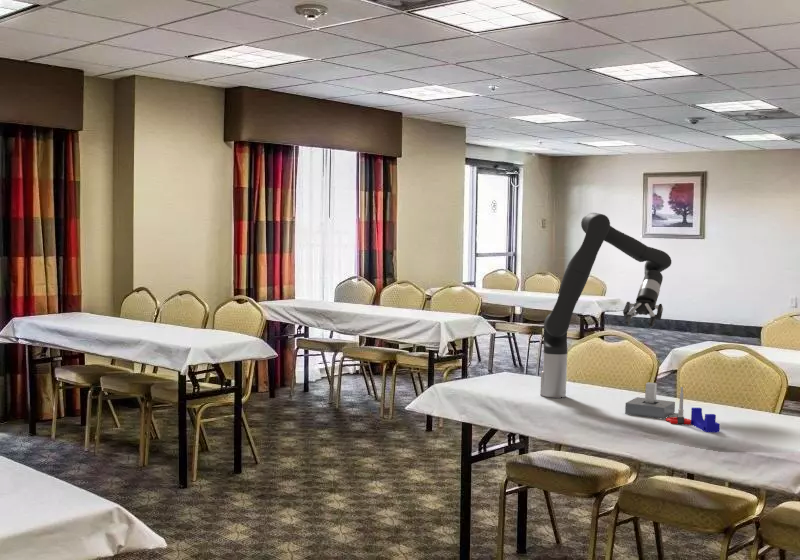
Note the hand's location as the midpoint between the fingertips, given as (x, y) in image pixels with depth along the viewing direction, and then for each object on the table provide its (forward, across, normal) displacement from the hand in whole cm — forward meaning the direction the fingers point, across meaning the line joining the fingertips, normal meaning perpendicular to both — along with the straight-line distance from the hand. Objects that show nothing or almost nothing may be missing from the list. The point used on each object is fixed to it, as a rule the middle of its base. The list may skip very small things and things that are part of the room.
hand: (638, 325), depth 330 cm
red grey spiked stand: (+36, +21, +8) cm, 43 cm away
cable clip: (+39, +31, +5) cm, 50 cm away
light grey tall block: (+30, +9, +14) cm, 34 cm away
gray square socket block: (+30, +9, +13) cm, 34 cm away
